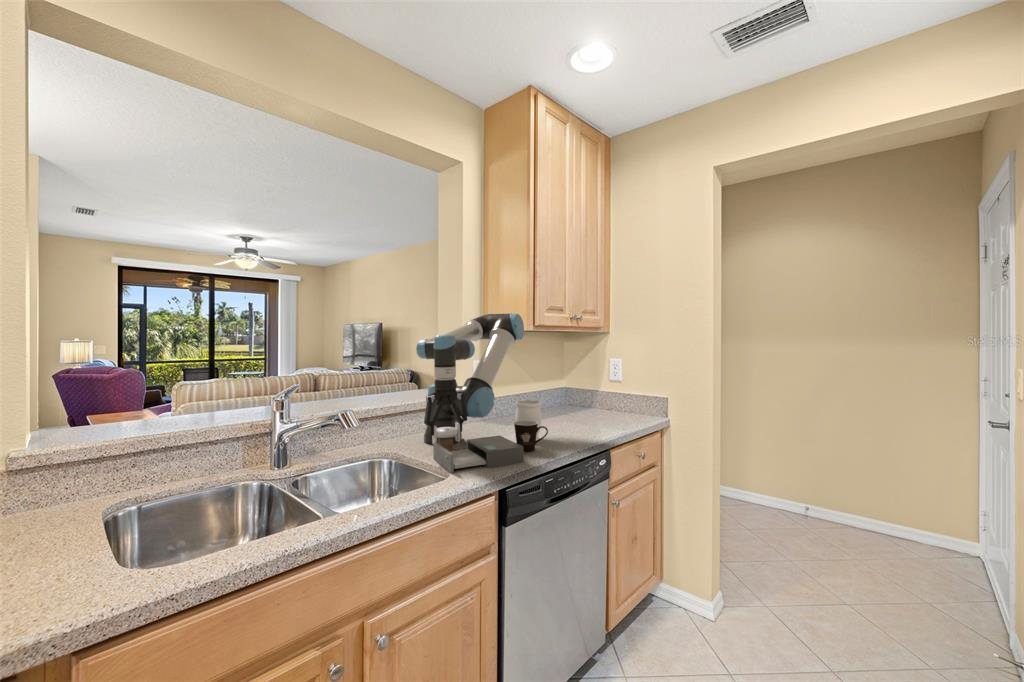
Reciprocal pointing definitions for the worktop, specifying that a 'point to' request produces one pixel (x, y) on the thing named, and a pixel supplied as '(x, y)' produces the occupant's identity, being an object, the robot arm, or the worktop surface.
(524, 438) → the coffee mug
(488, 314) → the robot arm
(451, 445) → the brown wooden block
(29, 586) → the worktop surface
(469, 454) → the tray
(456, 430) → the disc
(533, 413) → the jar
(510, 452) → the housing
